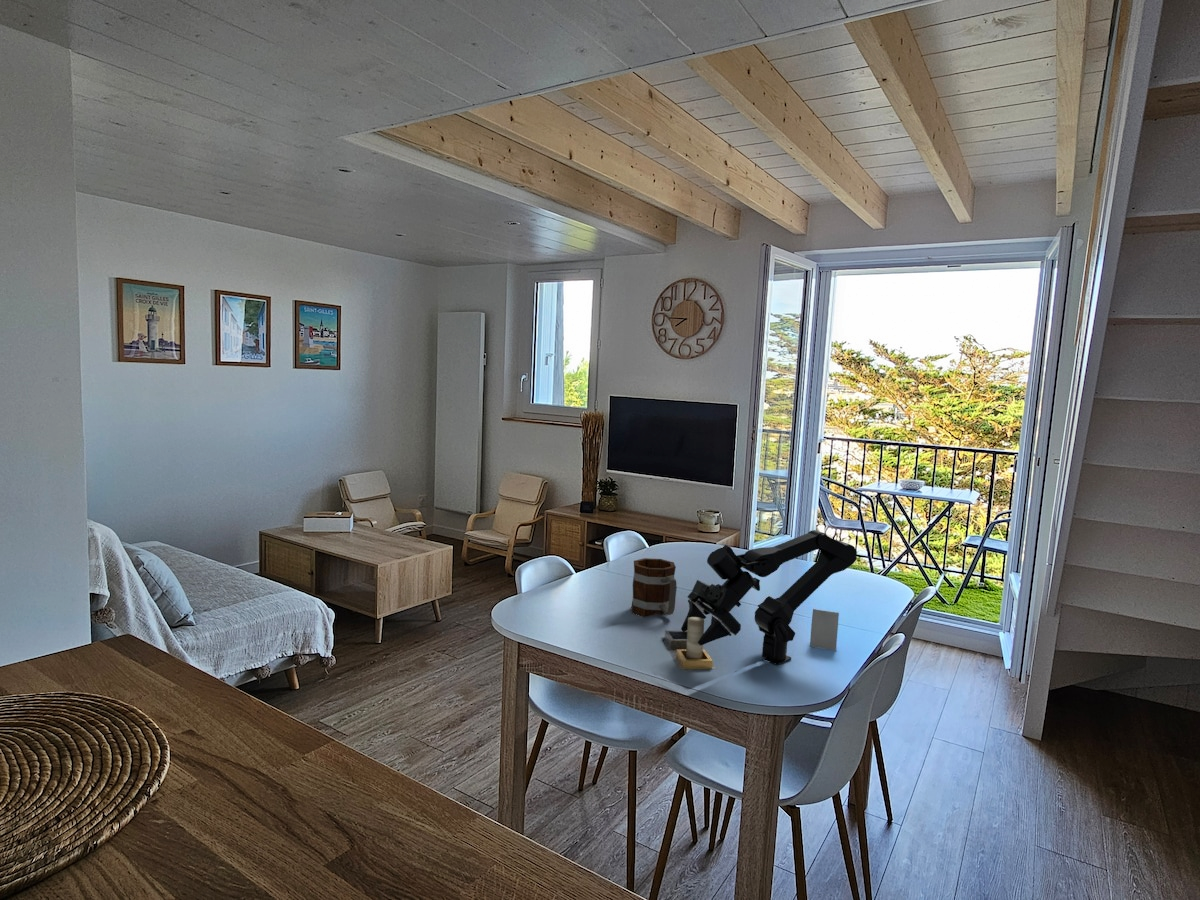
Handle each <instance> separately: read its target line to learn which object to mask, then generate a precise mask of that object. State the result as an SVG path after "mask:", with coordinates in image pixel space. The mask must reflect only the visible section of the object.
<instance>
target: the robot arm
mask: <svg viewBox="0 0 1200 900" xmlns="http://www.w3.org/2000/svg"><path fill="white" fill-rule="evenodd" d="M816 550H818V551H819V554H818V557H817V560H816V562H815V563H814V564H813V565H812V566H810V568H809V569H807V571H805V572H804V573H803V574H802V575H800V577H799V578H798V579H797V580H796V581H795V582H794V583H792V585H791V586H790V587H789V588H787V590H785V592H783V593H782V594H781V595H780V596H779V597H776V598H773V597H772V596H771V595H770V596H769V595H768V596H766V598H765V599H764V600H763V601H762V602H761V603H759V604H758V605H757V608H756V610H755V611H754V622H755V624H756V625H757V627H758V631H760V632H762V633H763V634H764V635H763V639H762V640H763V642H762V649H761V650H762V652H761V656H762V657H763V658H762V660H763V661H765V662H769V663H770V664H773V665H775V666H778V665H782V664H784V663H786V662H788V661H791V660H792V657H791V656H790V655H787V650H788V642H792V641H793V640H794V638H795V635H796V632H795V631H794V630H793V629H792V627H791V626H790V624H791V622H792V619H793V616H794V612H795V611H796V610H797V608H799V607H800V606H801V605H802V604H803V603H805V601H806V600H807V599H808V598H810V596H811V595H813V593H814V592H815V591H816V590H818V588H819V587H820V586H822V584H824V582H826V581H827V579H830V577H831V576H833V575H834V574H837V573H840V572H843V571H846V570H847V569H848V568H850V567H851V566H852V565H854V564H855V563H856V561H857V554H858V553H857V549H856V547H855V546H854V545H852V544H850V543H847V542H844V541H841V540H839V539H834V538H832V537H830V536H829V535H828V534H826V533H825V532H822V531H820V530H816V529H813V530H809V531H808V532H807V533H805V534H803V535H800V536H798V537H794V538H791V539H789V540H787V541H785V542H782V543H779V544H777V545H774V546H772V547H771V546H770V547H768V546H767V547H757V548H753V549H748V550H747V551H746V552H745V553H742V554H736V553H735V552H734V550H733V549H732V547H731V546H730V545H727V544H724V545H723V547H719V548H717V549H716V550H714V551H711V552H710V554H709V555H708V556H707V559H706V563H707V565H708V566H709V567H710V568H711V569H712V570H713V571H714V573H716V575H718V577H719V578H720V579H721V580H725V581H724V582H723V584H719V583H717V584H713V583H711V584H707V583H706V582H703V581H701V580H699V579H696V582H695V584H694V586H693V588H692V590H691V592H690V593H689V594H688V595H687V598H688V600H687V603H688V607H689V609H688V612H687V615H686V617H685V620H684V621H683V623H682V626H681V627H680V631H683V632H685V631H687V629H688V618H690V617H699V618H703V619H704V620H705V619H707V615H712V616H711V619H710V625H709V626H708V627H707V628H706V630H704V634H703V635H702V636H701V638H700V639H699V641H698V644H699V645H703V646H704V645H706V644H708V643H711V642H713V641H715V640H719V639H722V638H725V637H728V636H729V637H731V636H732V635H734V636H737V635H738V634H739V632H740V631H741V629H742V628H741V626H742V625H741V623H740V622H739V621H738V620H737V618H736V617H735V616H734V615H733V614H732V613H731V611H732V610H733V609H734V608H735V607H737V608H740V607H741V605H742V604H741V602H740V601H741V600H742V599H743V598H744V597H745V595H747V593H749V592H750V590H751V589H754V590H755V591H758V592H760V590H761V585H760V582H761V579H759V578H757V577H753V576H752V575H751V573H752V574H753V575H756V576H758V577H760V578H766V577H768V576H770V575H771V574H773V573H774V572H777V570H778V569H779V568H780V566H781V565H783V564H785V563H787V562H790V561H792V560H794V559H797V558H799V557H801V556H803V555H806V554H809V553H811V552H814V551H816ZM744 569H745V570H744Z"/></svg>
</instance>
